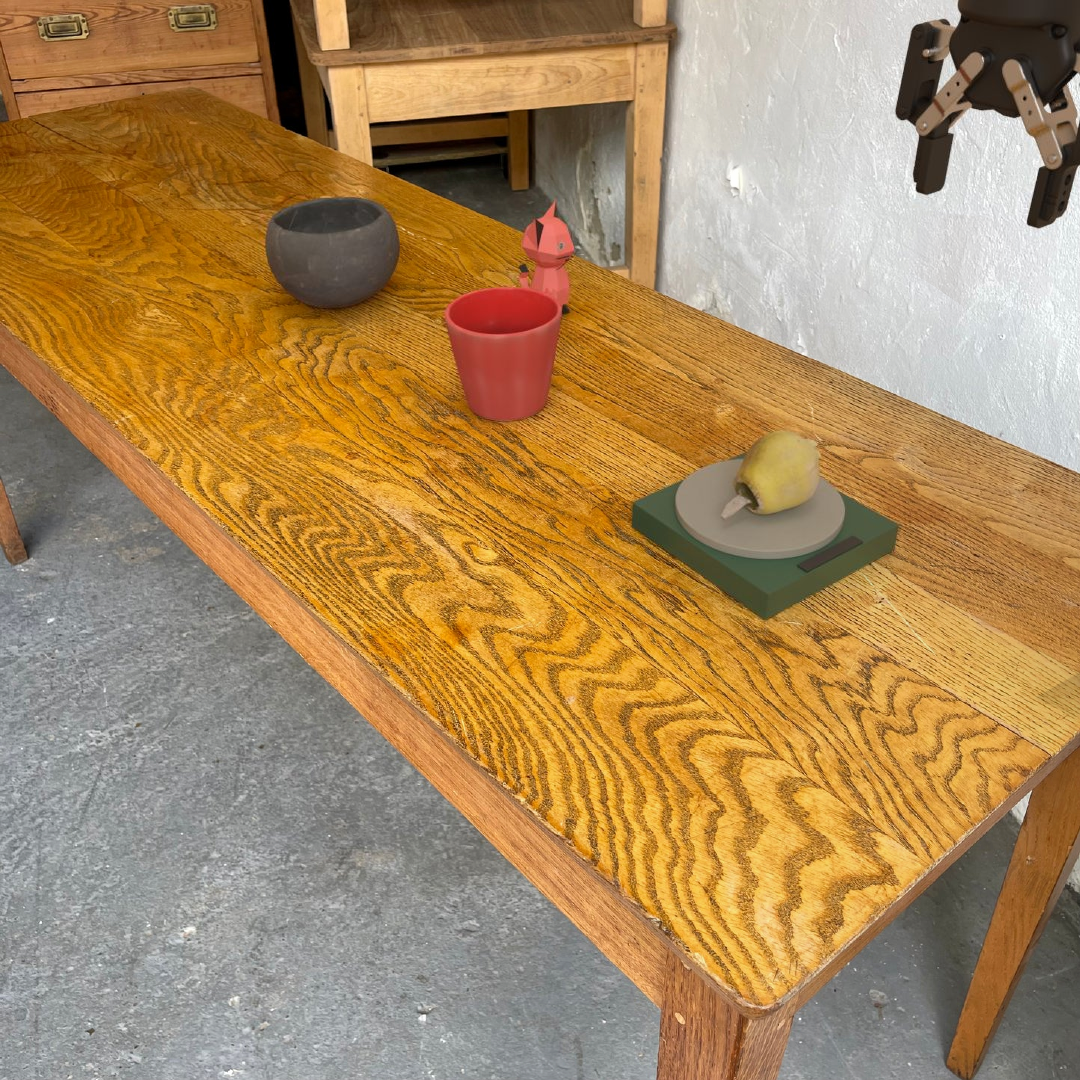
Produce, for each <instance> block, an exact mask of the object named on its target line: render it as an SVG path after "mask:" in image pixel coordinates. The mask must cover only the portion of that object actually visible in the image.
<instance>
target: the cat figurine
mask: <svg viewBox="0 0 1080 1080" xmlns="http://www.w3.org/2000/svg"><path fill="white" fill-rule="evenodd" d="M578 244H579V241H577V244H576V245H575V246H576V247H575V246H574V243H573V232H572V231H570V232H569V228H568V225H567V224H566V223H565V222H564V221H563V220H562V219H560V218H559V213H558V207H557V200H554V202H553V203H552V204H551V206H550V207H549V208H548V210H547V211H546V212H545V214H544V215H543V216H542V217H539V218H534V219H533V221H532V222H531V223H529V225H527V226H526V228H525V230H524V233H523V235H522V238H521V248H522V250H523V251H524V253H525V255H526V257H527V258H528V259H530V260H531V261H533V262H535V263H536V264H535V267H534V271H533V274H532V276H531V280H530V285H529V282H528V276H529V275H530V270H529V269H528V267H527V265H526V263H522V264H520V265H519V266H518V269H519V271H520V275H519V277H518V280H519V281H520V284H521V288H527V289H533V290H537V291H541V292H544V293H546V294H549V295H550V296H552V297H554V298H555V299H556V300H557V301H558V302H559V303H560V305H561V308H562V315H566V314H569V313H570V312H571V309H570V307H568V306H567V303H570V287H571V286H572V284H571V280H570V274H569V273H568V272H567V269H566V267H565V265H566V264H567V263H568V262H569V261H570V260H571V259H572V258H573V257H574V256H575V255H576V254H577V252H578V251H579V249H578Z"/></svg>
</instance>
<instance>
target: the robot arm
mask: <svg viewBox="0 0 1080 1080" xmlns="http://www.w3.org/2000/svg"><path fill="white" fill-rule="evenodd" d="M957 10H958V12H959V14H960V18H959V21H958V23H957V25H956V26H952V25H951V23H950V21H949V20H948V19H947V18H939V19H932V20H928V21H924V22H920V23H917V24H915V25H914V26H913V27H911V31H910V35H909V40H908V46H907V50H906V55H905V60H904V64H903V69H902V74H901V80H900V84H899V90H898V94H897V99H896V104H895V109H894V110H895V111H894V112H895V116H896V118H897V119H898V121H899V120H900V121H901V122H902V121H903V122H904V121H907V122H909V123H910V124H911V125H913V126H914V127H915V130H916V133H917V134H918V141H917V146H916V153H915V158H914V159H915V160H914V162H913V163H914V166H913V168H912V169H913V170H912V178H913V183H915V191H916V193H918V194H921V195H925V196H928V195H931V194H934V193H939V192H940V191H942V190H943V188H944V187H945V183H946V180H947V174H948V168H949V164H950V158H951V152H952V147H953V141H954V136H955V133H952V132H949V130H950V129H951V128H952V127H953V126H954V125H955V124H956V123H957V122H958V120H959V119H961V117H962V116H963V115H965V113H966V112H967V111H968V110H970V109H972V110H976V111H981V112H982V111H995V112H996V113H998V114H1000V115H1002V116H1003V117H1006V118H1012V119H1017V118H1020V117H1021V120H1022V124H1023V126H1024V129H1025V131H1026V133H1027V134H1028V136H1030V137H1033V139H1034V141H1035V143H1036V146H1037V149H1038V152H1039V154H1040V157H1041V159H1042V162H1043V166H1040V167H1038V170H1037V175H1036V180H1035V183H1034V188H1033V192H1032V196H1031V200H1030V205H1029V210H1028V214H1027V217H1026V225H1027V226H1028V227H1032V228H1035V229H1039V230H1040V229H1042V228H1045V227H1047V226H1050V225H1052V224H1054V223H1055V221H1056V220H1057V219H1059V218H1061V217H1063V215H1064V214H1065V212H1067V208H1068V206H1069V201H1070V197H1071V194H1072V189H1073V186H1074V181H1075V179H1076V174H1077V170H1078V168H1079V167H1080V119H1079V121H1078V124H1077V118H1078V116H1079V115H1078V109H1077V107H1076V104H1075V101H1074V99H1073V96H1072V93H1071V90H1070V88H1069V86H1068V84H1069V83H1070V82H1071V81H1072V80H1073V79H1074V78H1075V77H1076V76H1077V75H1079V76H1080V0H957ZM949 55H950V57H951V59H952V63H953V64H954V65H953V66H954V68H955V71H956V72H955V73H954V74H953V75H952V76H951V77H950V78H949V80H948V81H947V82H946V83H945V84H944V85H943V86H942V88H940V89H939V88H938V87H939V84H940V79H941V75H942V70H943V67H944V62H945V59H946V58H947V57H948V56H949ZM1078 86H1079V87H1080V83H1079V84H1078ZM938 89H939V91H938ZM1047 105H1048V107H1049V109H1050V112H1048V111H1047V110H1046V108H1045V107H1046V106H1047Z"/></svg>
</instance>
